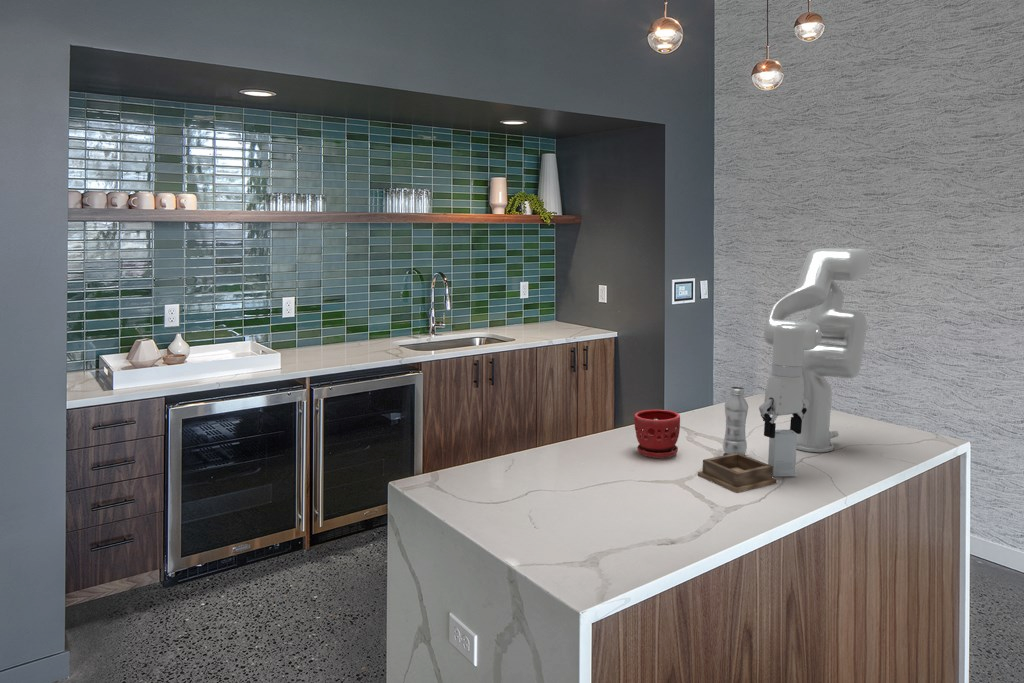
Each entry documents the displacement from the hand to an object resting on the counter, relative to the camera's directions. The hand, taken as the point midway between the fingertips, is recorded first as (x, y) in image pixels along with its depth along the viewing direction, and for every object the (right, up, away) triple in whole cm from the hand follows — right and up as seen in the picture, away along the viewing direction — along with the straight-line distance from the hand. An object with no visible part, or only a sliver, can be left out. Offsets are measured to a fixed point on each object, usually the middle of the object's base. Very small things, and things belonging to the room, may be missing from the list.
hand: (782, 434), depth 189 cm
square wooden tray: (-12, -12, -1) cm, 17 cm away
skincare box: (+1, -11, +2) cm, 12 cm away
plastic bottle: (-7, -9, +19) cm, 22 cm away
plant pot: (-29, -8, +21) cm, 37 cm away
